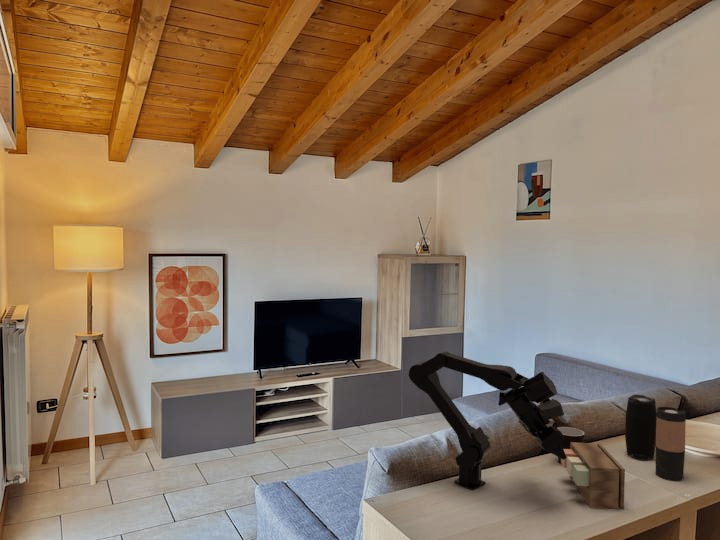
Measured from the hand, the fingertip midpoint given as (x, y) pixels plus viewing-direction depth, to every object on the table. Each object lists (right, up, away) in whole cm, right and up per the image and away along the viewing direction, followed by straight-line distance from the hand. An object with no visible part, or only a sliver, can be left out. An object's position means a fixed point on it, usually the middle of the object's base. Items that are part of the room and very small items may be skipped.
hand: (558, 451), depth 148 cm
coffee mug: (+10, -11, +23) cm, 28 cm away
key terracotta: (+7, -7, +7) cm, 12 cm away
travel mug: (+38, -12, +13) cm, 42 cm away
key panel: (+11, -12, +1) cm, 16 cm away
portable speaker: (+38, -12, +29) cm, 49 cm away
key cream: (+7, -7, +2) cm, 10 cm away
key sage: (+6, -7, -4) cm, 10 cm away
